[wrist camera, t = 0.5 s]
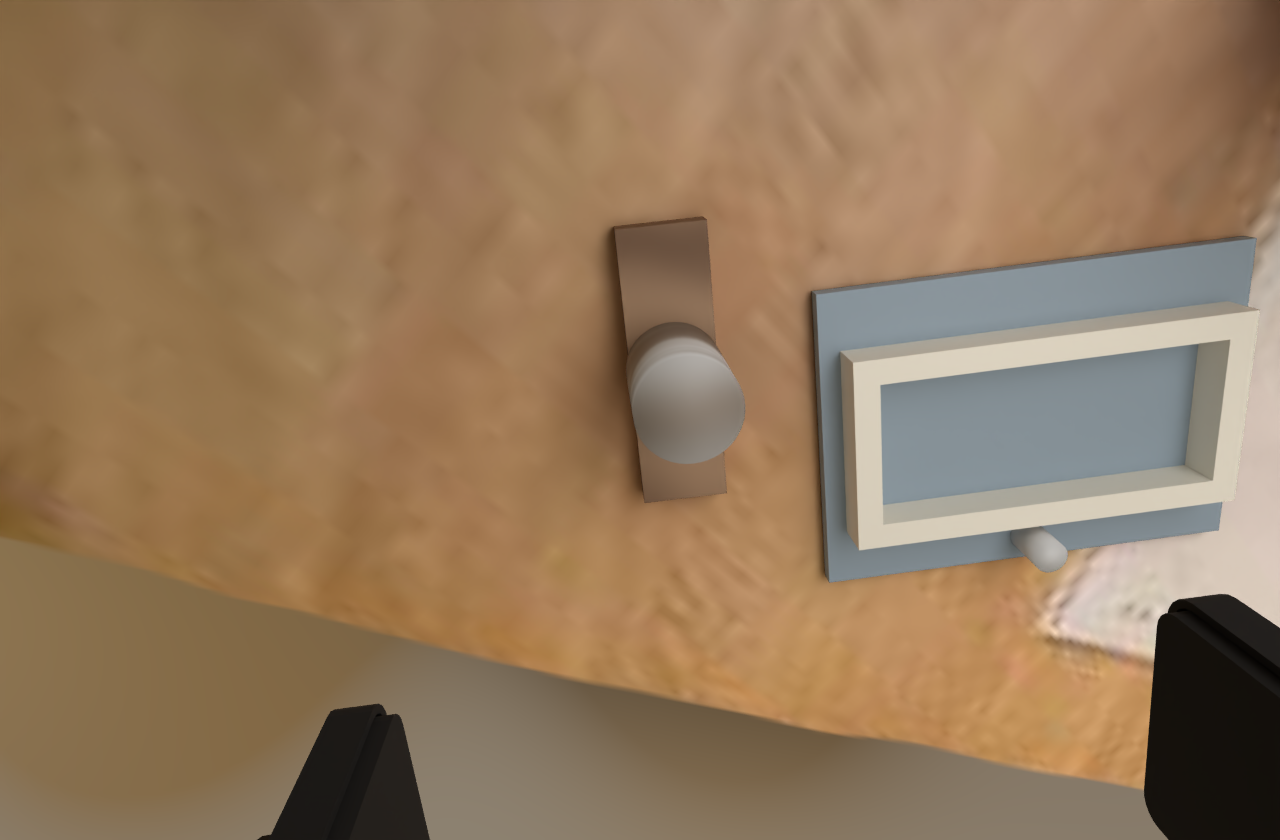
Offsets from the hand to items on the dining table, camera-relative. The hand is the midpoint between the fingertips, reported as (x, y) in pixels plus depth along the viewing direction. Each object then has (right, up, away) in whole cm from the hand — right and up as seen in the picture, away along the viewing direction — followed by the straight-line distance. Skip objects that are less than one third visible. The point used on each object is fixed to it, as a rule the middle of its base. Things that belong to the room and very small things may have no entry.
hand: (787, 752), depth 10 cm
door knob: (0, +7, +30) cm, 30 cm away
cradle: (+17, +4, +31) cm, 36 cm away
